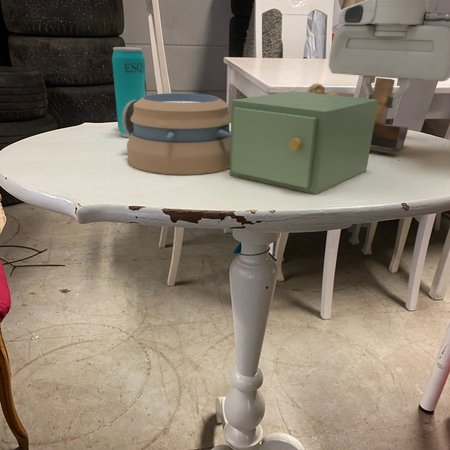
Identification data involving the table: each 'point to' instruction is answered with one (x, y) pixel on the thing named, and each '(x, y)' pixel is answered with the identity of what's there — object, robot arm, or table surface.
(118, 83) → the beverage can
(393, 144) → the brush
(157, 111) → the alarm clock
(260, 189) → the table surface
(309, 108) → the cabinet
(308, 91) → the lion figurine
